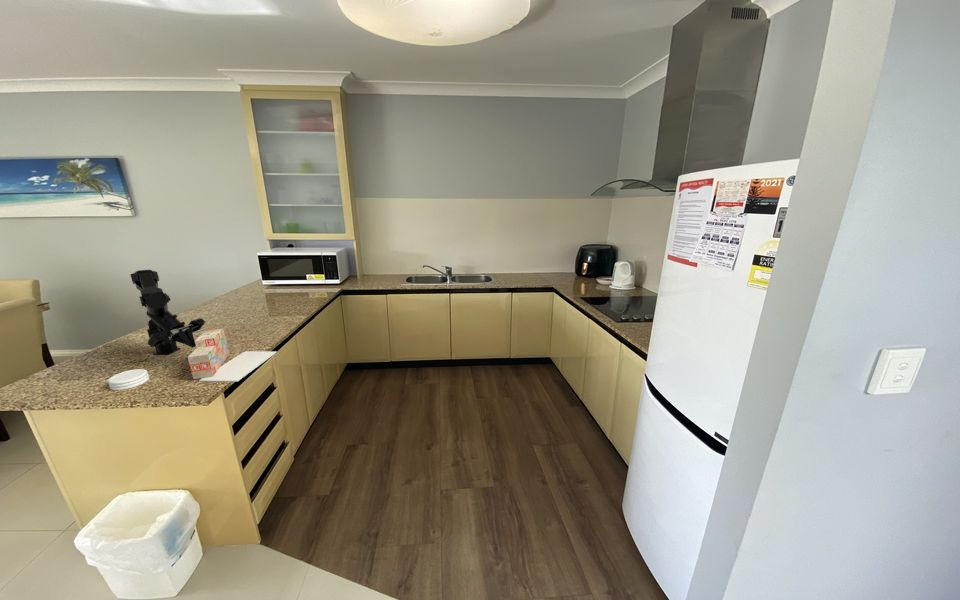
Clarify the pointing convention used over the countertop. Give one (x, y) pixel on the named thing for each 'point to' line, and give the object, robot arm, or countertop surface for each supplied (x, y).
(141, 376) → the white ridged disc
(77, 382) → the countertop surface
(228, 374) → the mat
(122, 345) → the countertop surface
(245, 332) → the countertop surface
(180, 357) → the countertop surface
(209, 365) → the stack of blocks
